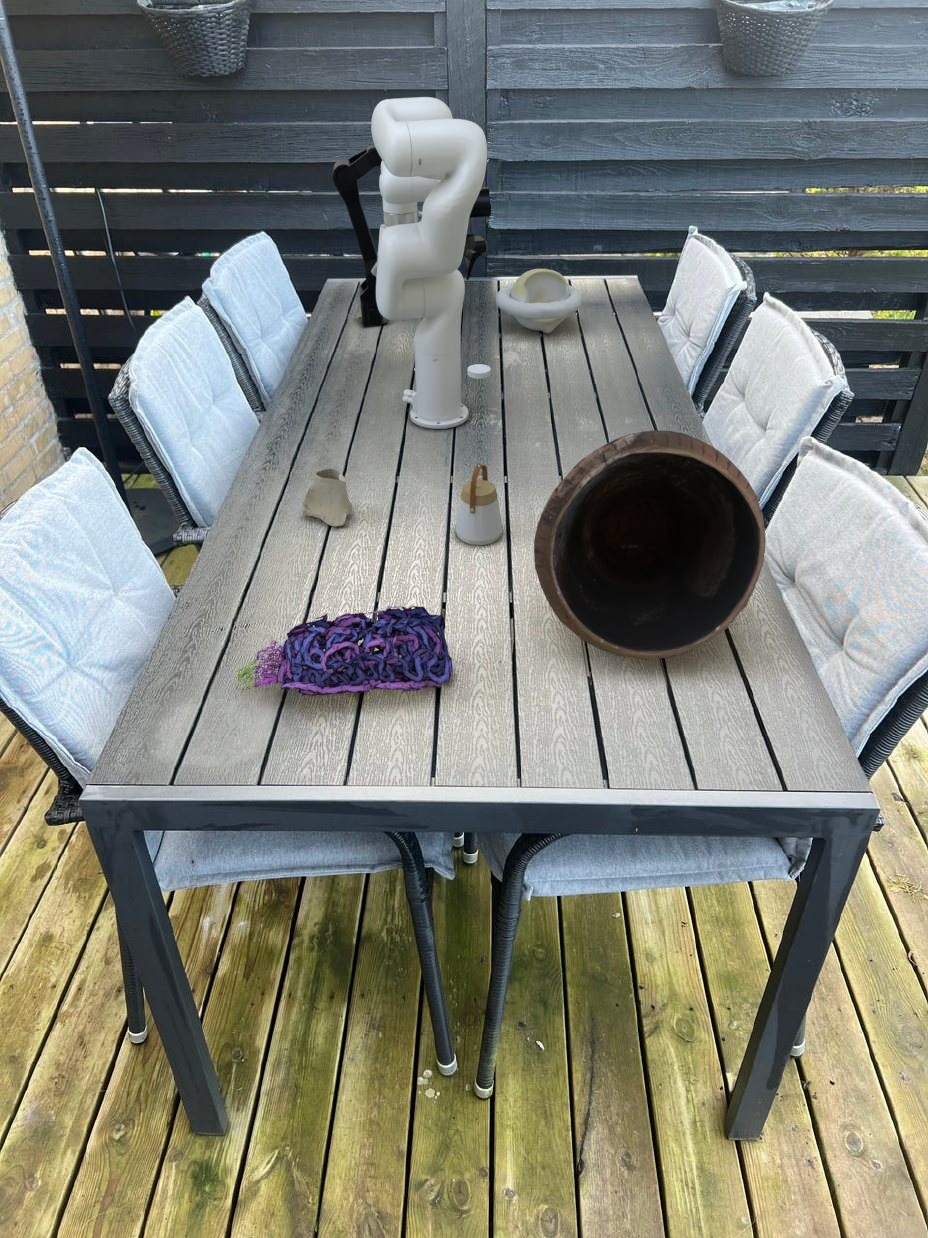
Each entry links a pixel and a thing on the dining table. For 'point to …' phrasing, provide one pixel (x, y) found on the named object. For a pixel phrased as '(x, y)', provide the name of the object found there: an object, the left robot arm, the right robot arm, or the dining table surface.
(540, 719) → the dining table surface
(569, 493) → the pot
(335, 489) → the beige irregular piece
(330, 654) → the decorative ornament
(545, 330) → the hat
